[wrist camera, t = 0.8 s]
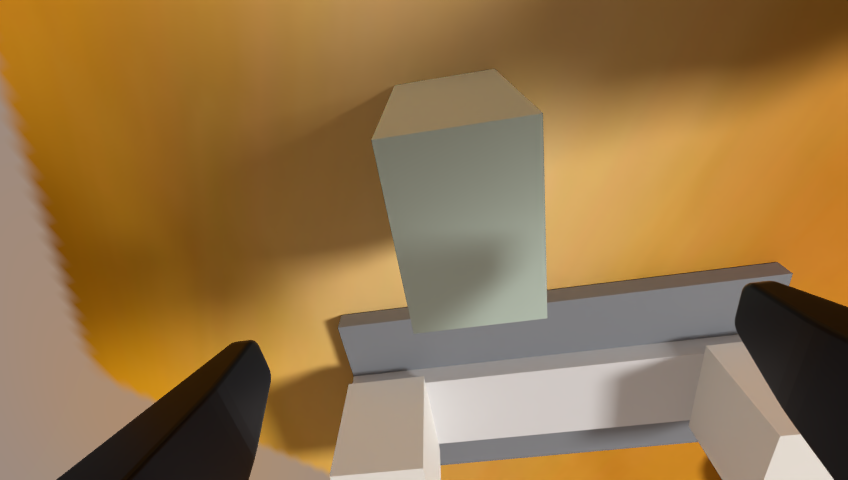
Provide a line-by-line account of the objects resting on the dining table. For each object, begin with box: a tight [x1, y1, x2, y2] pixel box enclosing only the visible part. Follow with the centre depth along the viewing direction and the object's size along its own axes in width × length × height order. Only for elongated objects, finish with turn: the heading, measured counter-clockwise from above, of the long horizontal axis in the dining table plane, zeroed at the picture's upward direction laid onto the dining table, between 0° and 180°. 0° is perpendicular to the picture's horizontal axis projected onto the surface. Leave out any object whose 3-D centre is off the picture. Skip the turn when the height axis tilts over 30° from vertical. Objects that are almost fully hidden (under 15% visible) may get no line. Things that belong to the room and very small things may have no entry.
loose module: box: [371, 69, 547, 334], centre depth 15 cm, size 4×6×8 cm, turn 9°
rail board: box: [329, 262, 834, 480], centre depth 21 cm, size 22×12×7 cm, turn 99°
